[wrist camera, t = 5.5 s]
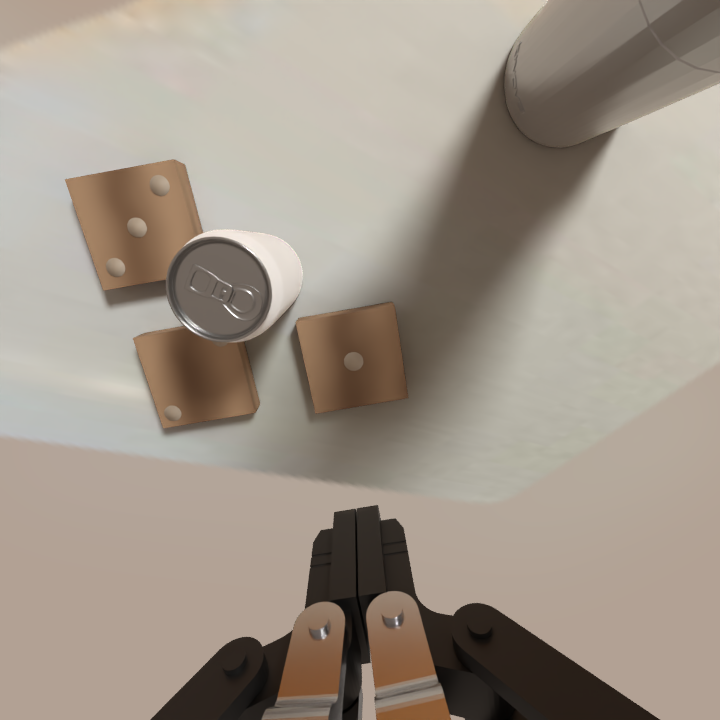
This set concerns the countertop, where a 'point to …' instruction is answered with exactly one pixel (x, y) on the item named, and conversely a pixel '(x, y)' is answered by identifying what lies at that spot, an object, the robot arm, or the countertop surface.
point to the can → (232, 283)
